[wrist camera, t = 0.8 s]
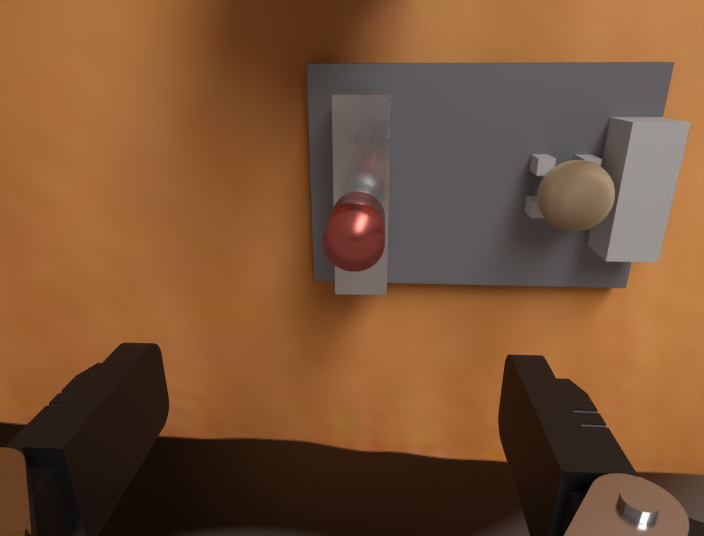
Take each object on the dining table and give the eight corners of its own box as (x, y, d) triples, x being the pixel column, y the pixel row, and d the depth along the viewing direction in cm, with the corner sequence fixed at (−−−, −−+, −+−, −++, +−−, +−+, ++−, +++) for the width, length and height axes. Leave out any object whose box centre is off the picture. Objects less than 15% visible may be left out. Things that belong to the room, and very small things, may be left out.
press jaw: (390, 90, 30) (393, 104, 19) (386, 264, 34) (386, 358, 23) (340, 90, 30) (313, 104, 19) (342, 263, 34) (321, 355, 23)
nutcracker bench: (660, 62, 30) (705, 61, 26) (616, 279, 35) (647, 307, 31) (309, 63, 31) (298, 63, 27) (316, 273, 36) (307, 299, 32)
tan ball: (603, 154, 30) (635, 167, 26) (592, 220, 31) (620, 241, 27) (533, 154, 30) (555, 166, 26) (525, 219, 31) (544, 240, 28)
